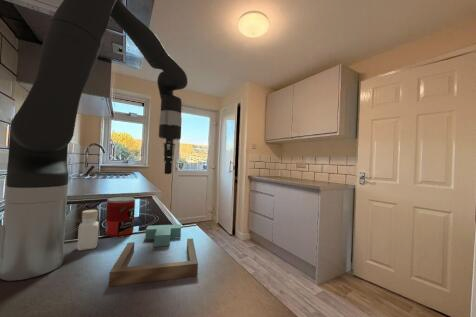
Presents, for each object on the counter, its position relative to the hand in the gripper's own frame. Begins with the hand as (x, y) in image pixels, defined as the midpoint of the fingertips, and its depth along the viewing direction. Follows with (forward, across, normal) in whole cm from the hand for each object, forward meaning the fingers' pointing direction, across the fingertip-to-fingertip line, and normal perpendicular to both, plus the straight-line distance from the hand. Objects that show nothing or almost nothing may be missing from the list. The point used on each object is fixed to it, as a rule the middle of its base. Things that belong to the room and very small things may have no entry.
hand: (168, 173), depth 72 cm
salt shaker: (+19, +14, -18) cm, 30 cm away
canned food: (+19, +4, -14) cm, 24 cm away
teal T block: (+19, +12, 0) cm, 22 cm away
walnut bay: (+19, +26, 0) cm, 32 cm away
